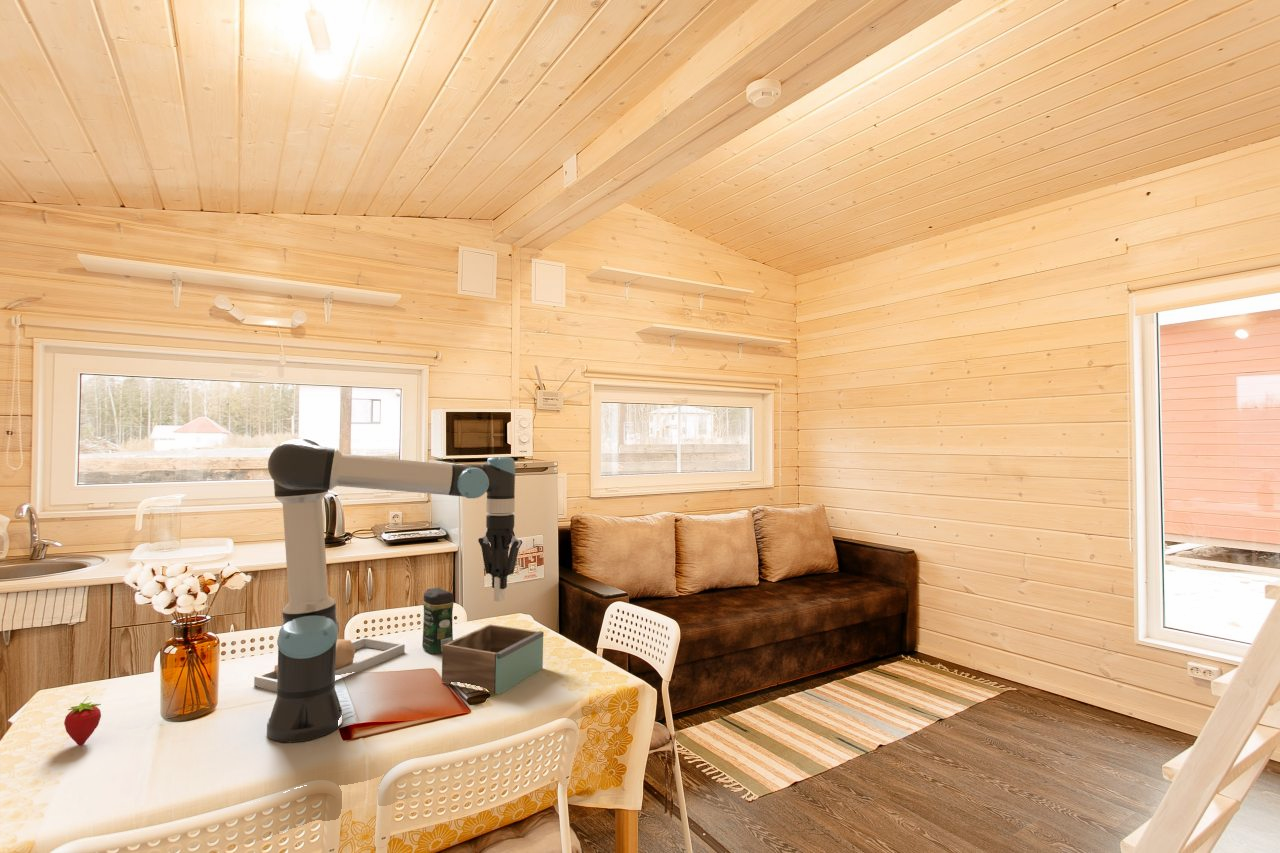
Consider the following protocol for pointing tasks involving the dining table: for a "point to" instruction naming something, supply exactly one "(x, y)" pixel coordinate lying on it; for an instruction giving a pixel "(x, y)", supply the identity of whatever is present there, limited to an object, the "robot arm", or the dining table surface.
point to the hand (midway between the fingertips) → (499, 600)
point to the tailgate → (518, 662)
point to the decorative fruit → (82, 721)
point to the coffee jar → (437, 619)
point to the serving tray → (391, 651)
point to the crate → (478, 655)
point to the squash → (340, 654)
